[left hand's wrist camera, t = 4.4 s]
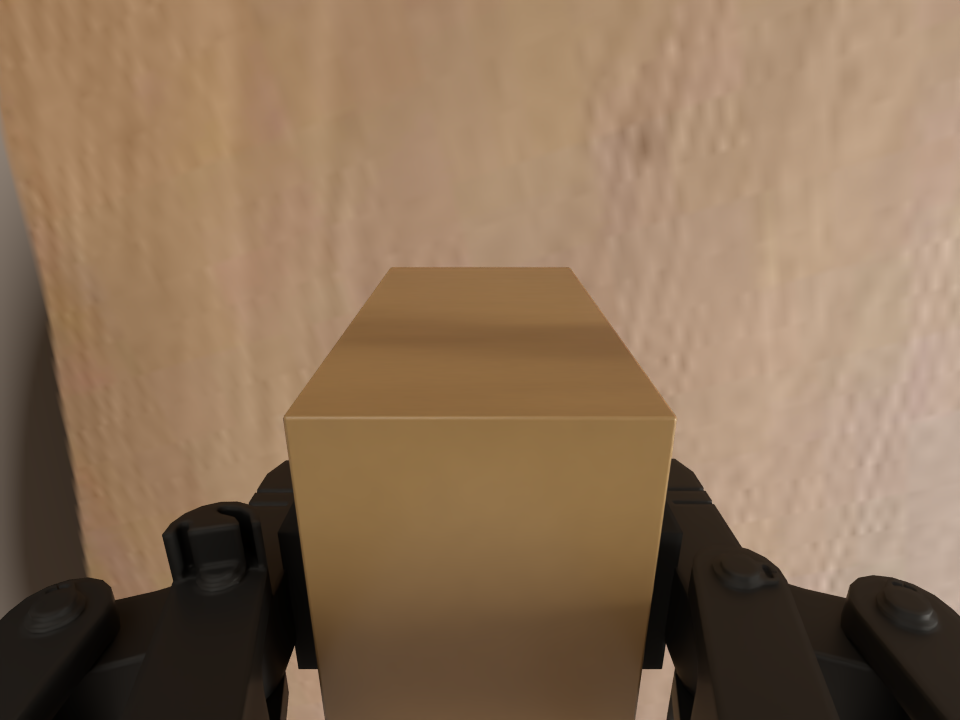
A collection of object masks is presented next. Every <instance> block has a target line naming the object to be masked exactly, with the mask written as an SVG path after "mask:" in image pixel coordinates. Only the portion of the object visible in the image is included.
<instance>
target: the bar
mask: <svg viewBox="0 0 960 720" xmlns="http://www.w3.org/2000/svg"><path fill="white" fill-rule="evenodd" d="M283 421H284V428H285V435H286V442H287V449H288V457H289V464H290V471H291V478H292V485H293V493H294V500H295V507H296V514H297V521H298V529H299V536H300V543H301V550H302V558H303V565H304V572H305V579H306V586H307V594H308V601H309V608H310V615H311V622H312V630H313V637H314V644H315V651H316V658H317V666H318V673H319V680H320V687H321V694H322V702H323V709H324V716H325V720H635V716H636V709H637V702H638V695H639V688H640V680H641V673H642V666H643V659H644V652H645V644H646V637H647V630H648V623H649V616H650V608H651V601H652V594H653V587H654V580H655V572H656V565H657V558H658V551H659V544H660V537H661V529H662V522H663V515H664V508H665V501H666V493H667V486H668V479H669V472H670V465H671V457H672V450H673V443H674V436H675V429H676V421H677V418H676V416H675V414H674V413H673V411H672V410H671V409H670V407H669V406H668V404H667V403H666V402H665V400H664V399H663V397H662V396H661V395H660V393H659V392H658V390H657V389H656V388H655V386H654V385H653V383H652V382H651V381H650V379H649V378H648V376H647V375H646V374H645V372H644V371H643V369H642V368H641V367H640V365H639V364H638V362H637V361H636V360H635V358H634V357H633V355H632V354H631V353H630V351H629V350H628V348H627V347H626V346H625V344H624V343H623V341H622V340H621V339H620V337H619V336H618V334H617V333H616V332H615V330H614V329H613V327H612V326H611V325H610V323H609V322H608V320H607V319H606V318H605V316H604V315H603V313H602V312H601V311H600V309H599V308H598V306H597V305H596V304H595V302H594V301H593V299H592V298H591V297H590V295H589V294H588V292H587V291H586V290H585V288H584V287H583V285H582V284H581V283H580V281H579V280H578V278H577V277H576V276H575V274H574V273H573V271H572V270H571V269H570V268H569V267H392V268H390V269H389V271H388V272H387V274H386V275H385V276H384V278H383V279H382V281H381V282H380V283H379V285H378V286H377V288H376V289H375V290H374V292H373V293H372V295H371V296H370V297H369V299H368V300H367V301H366V303H365V304H364V306H363V307H362V308H361V310H360V311H359V313H358V314H357V315H356V317H355V318H354V320H353V321H352V322H351V324H350V325H349V326H348V328H347V329H346V331H345V332H344V333H343V335H342V336H341V338H340V339H339V340H338V342H337V343H336V345H335V346H334V347H333V349H332V350H331V352H330V353H329V354H328V356H327V357H326V358H325V360H324V361H323V363H322V364H321V365H320V367H319V368H318V370H317V371H316V372H315V374H314V375H313V377H312V378H311V379H310V381H309V382H308V383H307V385H306V386H305V388H304V389H303V390H302V392H301V393H300V395H299V396H298V397H297V399H296V400H295V402H294V403H293V404H292V406H291V407H290V409H289V410H288V411H287V413H286V414H285V415H284V418H283Z"/></svg>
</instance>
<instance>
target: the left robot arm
mask: <svg viewBox="0 0 960 720" xmlns="http://www.w3.org/2000/svg"><path fill="white" fill-rule="evenodd" d="M162 537H163V541H164V545H165V549H166V553H167V557H168V561H169V566H170V570H171V574H172V578H173V583H172V586H171V587H168V588H165V589H161V590H158V591H154V592H150V593H146V594H141V595H137V596H132V597H128V598H123V599H119V600H115V599H114V595H113V592H112V589H111V587H110V586H109V585H108V584H107V583H106V582H104V581H103V580H99V579H94V578H80V579H72V580H67V581H64V582H60V583H58V584H54V585H51V586H48V587H46V588H44V589H42V590H40V591H39V592H37V593H35V594H33V595H31V596H29V597H27V598H26V599H24V600H23V601H22V602H21V603H19V604H18V605H17V606H15V607H14V608H13V609H12V610H10V611H9V612H8V613H7V614H6V615H5V616H4V617H3V618H2V619H1V620H0V720H286V717H287V706H288V696H289V691H288V684H287V678H286V672H285V670H286V668H287V665H288V662H289V659H290V657H291V654H292V651H293V649H294V646H295V649H296V656H297V662H298V669H318V666H317V658H316V651H315V644H314V637H313V630H312V622H311V615H310V608H309V601H308V594H307V586H306V579H305V572H304V565H303V558H302V550H301V543H300V536H299V529H298V521H297V514H296V507H295V500H294V493H293V485H292V478H291V471H290V464H289V460H286V461H285V462H283V463H282V464H280V465H279V466H278V467H276V468H275V469H274V470H272V471H271V472H269V473H268V474H267V475H266V477H265V478H264V480H263V482H262V483H261V485H260V486H259V488H258V489H257V493H255V494H254V496H253V497H252V499H251V500H250V502H249V505H248V504H245V503H241V502H218V503H214V504H209V505H205V506H201V507H199V508H197V509H194V510H192V511H190V512H187V513H185V514H184V515H182V516H181V517H179V518H178V519H177V520H175V521H174V522H172V523H171V524H170V525H169V527H168V528H167V529H166V530H165V532H164V533H163V534H162ZM665 645H667V647H668V650H669V653H670V656H671V658H672V661H673V664H674V666H675V672H674V678H673V683H672V689H671V695H670V701H669V707H668V713H667V720H960V616H959V615H958V614H957V613H956V612H955V611H954V610H953V609H952V608H950V607H949V606H948V605H947V604H945V603H944V602H943V601H941V600H940V599H939V598H938V597H936V596H935V595H933V594H931V593H929V592H927V591H925V590H924V589H922V588H920V587H918V586H916V585H914V584H911V583H908V582H905V581H902V580H898V579H895V578H892V577H884V576H875V575H872V576H866V577H860V578H858V579H856V580H855V581H854V582H853V583H852V584H851V585H850V587H849V590H848V594H847V597H846V598H843V597H838V596H834V595H830V594H825V593H821V592H816V591H812V590H807V589H804V588H800V587H797V586H793V585H790V584H788V582H787V580H786V578H785V577H784V575H783V574H782V572H781V571H780V569H779V568H778V567H777V566H775V565H774V564H773V563H772V562H770V561H769V560H768V559H767V558H765V557H763V556H761V555H759V554H757V553H755V552H753V551H751V550H749V549H745V548H742V547H741V545H740V544H739V542H738V541H737V539H736V537H735V536H734V534H733V533H732V531H731V530H730V528H729V527H728V525H727V524H726V522H725V520H724V519H723V517H722V516H721V514H720V513H719V511H718V510H717V508H716V506H715V505H714V504H712V500H711V499H710V497H709V496H708V494H707V493H706V491H704V490H703V486H702V485H701V483H700V482H699V480H698V479H697V477H696V476H695V474H694V472H692V471H691V470H690V469H688V468H687V467H685V466H684V465H683V464H681V463H680V462H679V461H677V460H676V459H671V465H670V472H669V479H668V486H667V493H666V501H665V508H664V515H663V522H662V529H661V537H660V544H659V551H658V558H657V565H656V572H655V580H654V587H653V594H652V601H651V608H650V616H649V623H648V630H647V637H646V644H645V652H644V659H643V666H642V669H662V665H663V658H664V652H665Z"/></svg>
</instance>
